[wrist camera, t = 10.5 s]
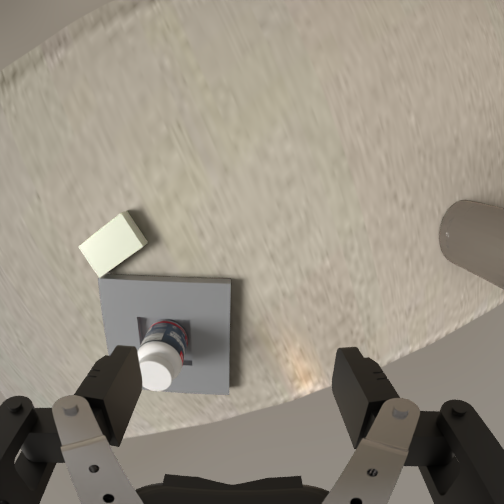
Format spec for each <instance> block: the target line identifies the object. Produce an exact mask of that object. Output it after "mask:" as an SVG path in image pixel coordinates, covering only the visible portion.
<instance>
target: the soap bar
mask: <svg viewBox="0 0 504 504" xmlns="http://www.w3.org/2000/svg"><path fill="white" fill-rule="evenodd" d="M147 243H148V242H147V240H146V239H145V237H144V236H143V234H142V233H141V231H140V230H139V228H138V227H137V225H136V223H135V222H134V220H133V219H132V217H131V216H130V214H129V213H128V211H125V212H122V213H121V214H119V215H118V216H117V217H115V218H114V219H113V220H111V221H110V222H109V223H107V224H106V225H105V226H104V227H102V228H101V229H100V230H99V231H97V232H96V233H95V234H93V235H92V236H91V237H90V238H88V239H87V240H86V241H85V242H84V243H82V244H81V245H80V246H79V248H80V250H81V252H82V253H83V255H84V256H85V258H86V259H87V261H88V262H89V264H90V265H91V267H92V268H93V269H94V271H95V272H96V274H97V275H98V277H99V278H100V277H101V276H103V275H104V274H106V273H107V272H108V271H110V270H111V269H112V268H114V267H115V266H117V265H118V264H119V263H121V262H122V261H124V260H125V259H126V258H128V257H129V256H131V255H132V254H133V253H135V252H136V251H138V250H139V249H140V248H142V247H143V246H144V245H146V244H147Z"/></svg>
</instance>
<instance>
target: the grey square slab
mask: <svg viewBox="0 0 504 504" xmlns="http://www.w3.org/2000/svg"><path fill="white" fill-rule="evenodd" d="M98 285H99V293H100V302H101V309H102V316H103V323H104V330H105V336H106V342H107V348H108V353H109V356H110V355H111V353H112V352H113V350H114V349H115V347H116V346H117V345H125V346H135V347H136V349H137V352H138V349H139V348H140V345H141V343H142V341H143V339H144V337H145V336H146V334H147V332H148V330H149V328H150V327H151V325H152V324H154V323H155V322H157V321H160V320H171V321H174V322H176V323H178V324H179V325H180V326H182V327H183V329H184V330H185V332H186V334H187V337H188V344H187V349H186V353H185V357H184V361H183V365H182V369H181V371H180V373H179V375H178V376H177V377H176V378H175V379H173V380H172V383H171V385H170V386H169V387H168V388H167V389H165V390H163V391H165V392H178V393H194V394H218V395H229V355H230V296H231V279H226V278H193V277H165V276H141V275H119V274H104V275H103V276H101V277H100V278H98ZM142 389H144V390H149V389H147V388H145V387H143V386H142Z"/></svg>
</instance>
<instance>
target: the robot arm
mask: <svg viewBox="0 0 504 504" xmlns="http://www.w3.org/2000/svg"><path fill="white" fill-rule="evenodd" d="M439 239H440V246H441V250H442V252H443V254H444V256H445V257H446V258H447V259H448V260H449V261H450V262H452V263H454V264H456V265H458V266H460V267H462V268H464V269H466V270H467V271H469V272H471V273H473V274H475V275H477V276H479V277H481V278H483V279H485V280H487V281H489V282H491V283H493V284H494V285H496V286H498V287H500V288H502V289H504V208H500V207H496V206H491V205H487V204H482V203H477V202H472V201H467V200H462V201H459V202H456V203H455V204H453V205H452V206H451V207H450V208H449V209H448V211H447V212H446V214H445V216H444V217H443V220H442V223H441V227H440V235H439ZM141 391H142V375H141V369H140V364H139V358H138V352H137V349H136V347H135V346H125V345H117V346H116V347H115V349H114V350H113V352H112V353H111V355H110V356H106V355H105V356H104V357H102V358H101V359H99V360H98V361H96V363H95V364H94V366H93V367H92V369H91V370H90V372H89V373H88V375H87V376H86V378H85V379H84V380H83V382H82V383H81V385H80V386H79V388H78V389H77V391H76V392H75V394H74V395H69V396H65V397H62V398H60V399H58V400H57V401H56V402H55V403H54V404H53V407H52V408H34V406H33V404H32V401H31V400H30V399H29V398H27V397H24V396H14V397H11V398H9V399H7V400H6V401H4V402H3V404H2V405H1V406H0V504H39V503H40V501H41V498H42V496H43V494H44V491H45V489H46V486H47V484H48V481H49V479H50V477H51V475H52V472H53V469H54V468H55V465H56V463H66V466H67V469H68V471H69V474H70V477H71V480H72V482H73V485H74V487H75V490H76V492H77V495H78V497H79V499H80V502H81V504H387V503H388V501H389V499H390V496H391V494H392V492H393V490H394V487H395V485H396V483H397V480H398V478H399V475H400V473H401V470H402V468H403V466H418V467H419V469H420V472H421V474H422V476H423V479H424V481H425V483H426V485H427V488H428V490H429V493H430V495H431V497H432V499H433V502H434V504H504V449H503V448H502V447H501V445H500V444H499V442H498V441H497V440H496V438H495V437H494V435H493V434H492V433H491V431H490V430H489V428H488V427H487V426H486V424H485V423H484V422H483V420H482V419H481V418H480V416H479V415H478V413H477V412H476V411H475V410H474V408H473V407H472V406H471V405H470V404H468V403H467V402H464V401H461V400H449V401H447V402H445V403H444V404H443V405H442V407H441V410H440V412H435V411H420V410H419V407H418V406H417V405H416V404H415V403H414V402H412V401H410V400H408V399H404V398H400V397H399V395H398V394H397V392H396V391H395V389H394V387H393V386H392V384H391V383H390V381H389V380H388V379H387V377H386V375H385V374H384V373H383V371H382V369H381V367H380V366H379V364H378V363H376V362H375V361H373V360H372V359H370V358H369V357H368V358H364V357H363V356H362V354H361V353H360V351H359V349H358V348H357V347H346V348H338V350H337V353H336V359H335V365H334V371H333V377H332V391H333V394H334V397H335V400H336V402H337V405H338V407H339V410H340V413H341V415H342V418H343V420H344V423H345V426H346V428H347V431H348V433H349V436H350V438H351V441H352V444H353V447H354V449H356V451H355V452H354V454H353V456H352V457H351V459H350V461H349V462H348V464H347V466H346V467H345V469H344V471H343V472H342V474H341V475H340V477H339V479H338V480H337V482H336V483H335V485H334V486H333V488H332V489H331V491H330V492H329V491H327V490H324V489H322V488H318V487H314V486H309V485H302V479H301V476H294V477H277V478H265V479H261V480H256V481H251V482H247V483H242V484H236V485H229V484H224V483H220V482H215V481H211V480H207V479H203V478H200V477H189V476H178V475H169V474H165V476H164V481H163V483H157V484H151V485H148V486H144V487H141V488H139V489H136V490H135V489H134V488H133V486H132V484H131V483H130V481H129V479H128V478H127V476H126V474H125V472H124V471H123V469H122V467H121V465H120V464H119V462H118V460H117V458H116V456H115V455H114V452H113V451H112V449H111V447H110V445H112V446H117V447H119V446H120V444H121V441H122V439H123V436H124V433H125V431H126V428H127V426H128V423H129V421H130V418H131V416H132V413H133V411H134V408H135V406H136V403H137V401H138V398H139V396H140V394H141ZM20 449H21V450H22V451H21V453H20V455H19V457H18V459H17V460H16V462H15V464H14V461H15V457H16V455H17V453H18V452H19V450H20ZM455 456H456V457H455ZM456 458H457V459H456Z"/></svg>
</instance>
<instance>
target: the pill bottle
mask: <svg viewBox="0 0 504 504" xmlns="http://www.w3.org/2000/svg"><path fill="white" fill-rule="evenodd" d="M187 344H188V337H187V334H186V332H185V330H184V329H183V327H182V326H180V325H179V324H178V323H176V322H174V321H171V320H160V321H157V322H155V323H154V324H152V325H151V327H150V328H149V330H148V332H147V334H146V336H145V337H144V339H143V341H142V343H141V345H140V348H139V349H138V358H139V364H140V369H141V375H142V386H143V387H145V388H147V389H149V390H152V391H163V390H165V389H167V388H168V387H169V386H170V385H171V383H172V380H173V379H175V378H176V377H177V376H178V375H179V373H180V371H181V369H182V365H183V361H184V357H185V353H186V349H187Z"/></svg>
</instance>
